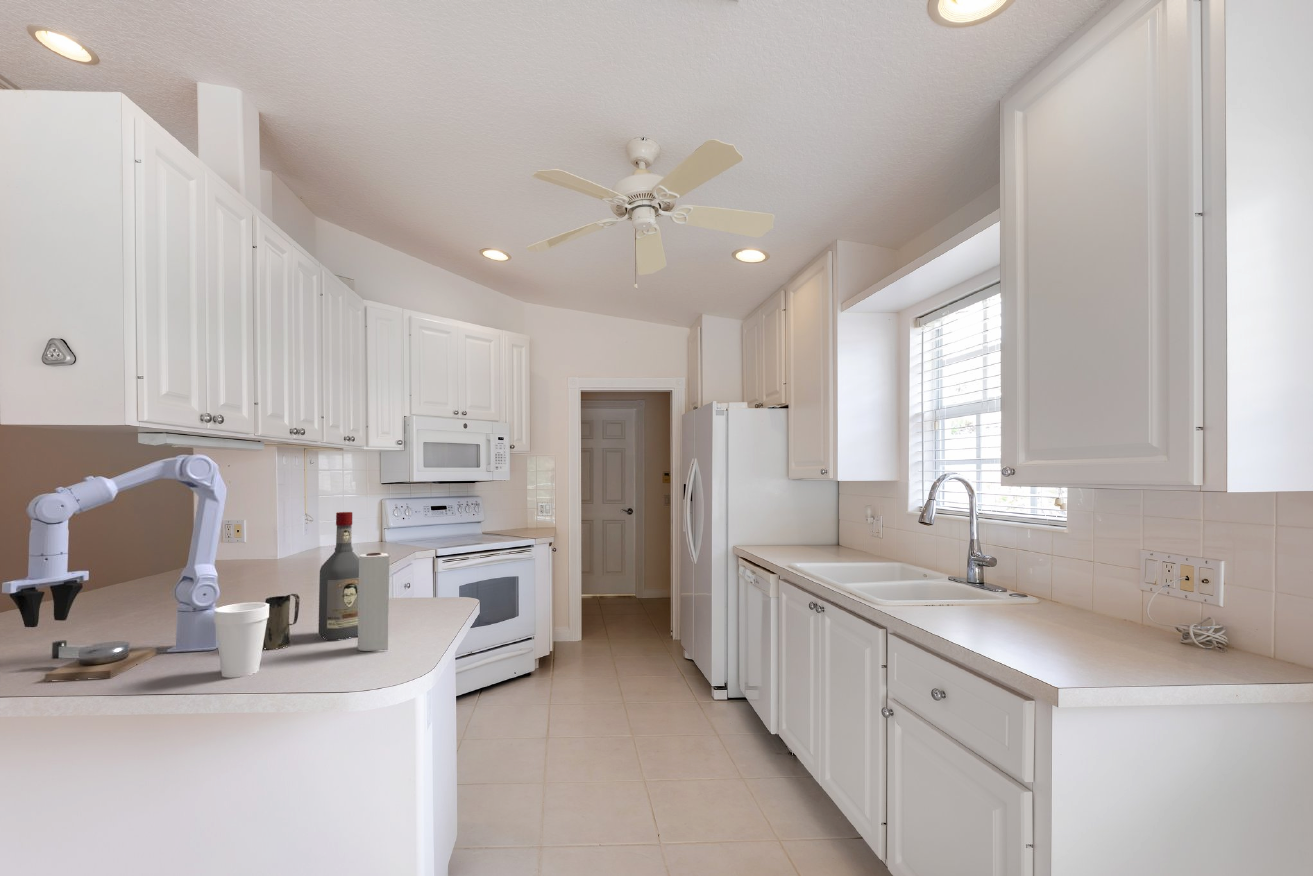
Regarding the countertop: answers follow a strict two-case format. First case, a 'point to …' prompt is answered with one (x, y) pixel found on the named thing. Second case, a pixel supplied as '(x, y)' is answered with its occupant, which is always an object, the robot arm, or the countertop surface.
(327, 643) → the countertop surface
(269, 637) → the mug
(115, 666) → the wooden board
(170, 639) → the countertop surface
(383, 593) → the paper towel roll
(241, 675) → the foam cup
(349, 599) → the liquor
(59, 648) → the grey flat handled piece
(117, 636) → the countertop surface
